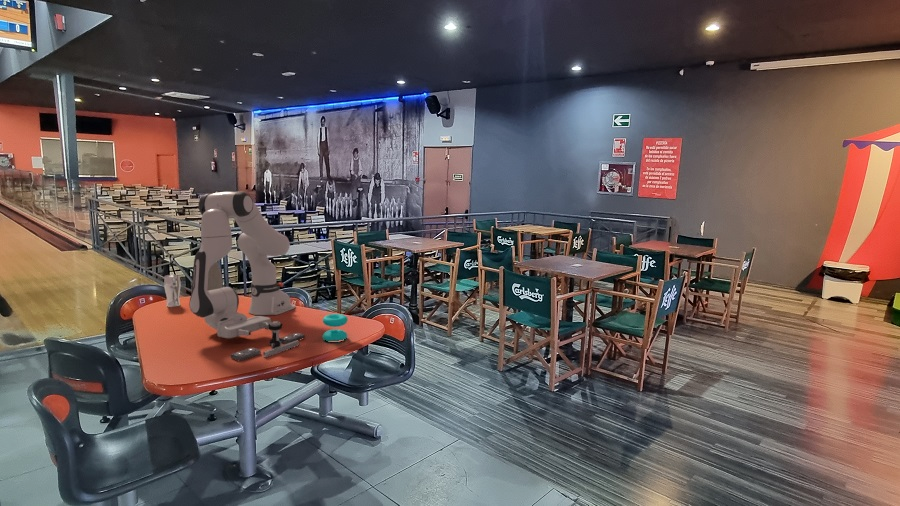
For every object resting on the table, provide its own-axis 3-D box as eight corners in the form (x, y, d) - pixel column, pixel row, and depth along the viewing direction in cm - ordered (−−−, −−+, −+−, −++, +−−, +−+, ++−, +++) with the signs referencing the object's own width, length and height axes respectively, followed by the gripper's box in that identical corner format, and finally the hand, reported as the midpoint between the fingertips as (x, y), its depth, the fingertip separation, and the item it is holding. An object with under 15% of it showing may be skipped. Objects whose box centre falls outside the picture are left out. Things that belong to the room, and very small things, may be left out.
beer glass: (174, 308, 234) (172, 277, 232) (161, 306, 235) (160, 276, 233) (184, 304, 241) (183, 275, 238) (172, 303, 242) (171, 274, 240)
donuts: (318, 318, 195) (329, 312, 204) (318, 342, 196) (329, 334, 206) (341, 321, 192) (351, 314, 202) (340, 344, 194) (351, 337, 204)
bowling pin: (192, 305, 240) (189, 229, 234) (207, 300, 251) (205, 227, 245) (212, 307, 238) (210, 231, 232) (227, 301, 249) (225, 228, 243)
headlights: (296, 336, 202) (296, 331, 201) (312, 340, 197) (312, 336, 197) (230, 358, 175) (230, 353, 175) (248, 364, 170) (248, 358, 170)
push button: (263, 346, 189) (263, 321, 187) (275, 342, 193) (275, 318, 191) (273, 350, 185) (273, 325, 183) (285, 346, 189) (285, 322, 187)
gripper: (257, 325, 205) (280, 331, 198) (213, 337, 187) (237, 345, 180) (257, 310, 204) (280, 316, 197) (213, 321, 186) (237, 329, 179)
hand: (259, 330), depth 189 cm, fingers open, 8 cm apart
